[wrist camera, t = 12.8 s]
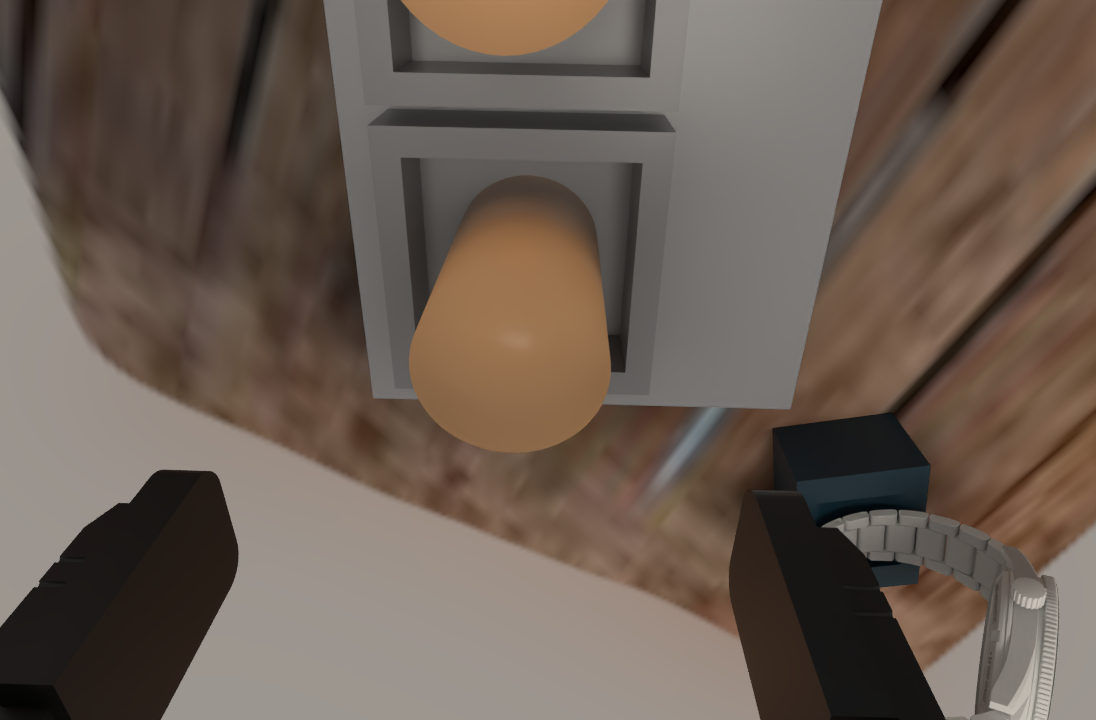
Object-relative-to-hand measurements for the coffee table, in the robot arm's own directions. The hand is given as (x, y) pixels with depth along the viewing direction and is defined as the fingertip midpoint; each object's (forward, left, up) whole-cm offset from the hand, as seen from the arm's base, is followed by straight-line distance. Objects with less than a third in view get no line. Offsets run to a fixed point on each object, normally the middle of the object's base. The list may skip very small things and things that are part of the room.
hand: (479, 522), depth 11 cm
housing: (-3, +2, -14) cm, 14 cm away
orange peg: (0, 0, -13) cm, 13 cm away
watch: (+10, +12, -14) cm, 21 cm away
